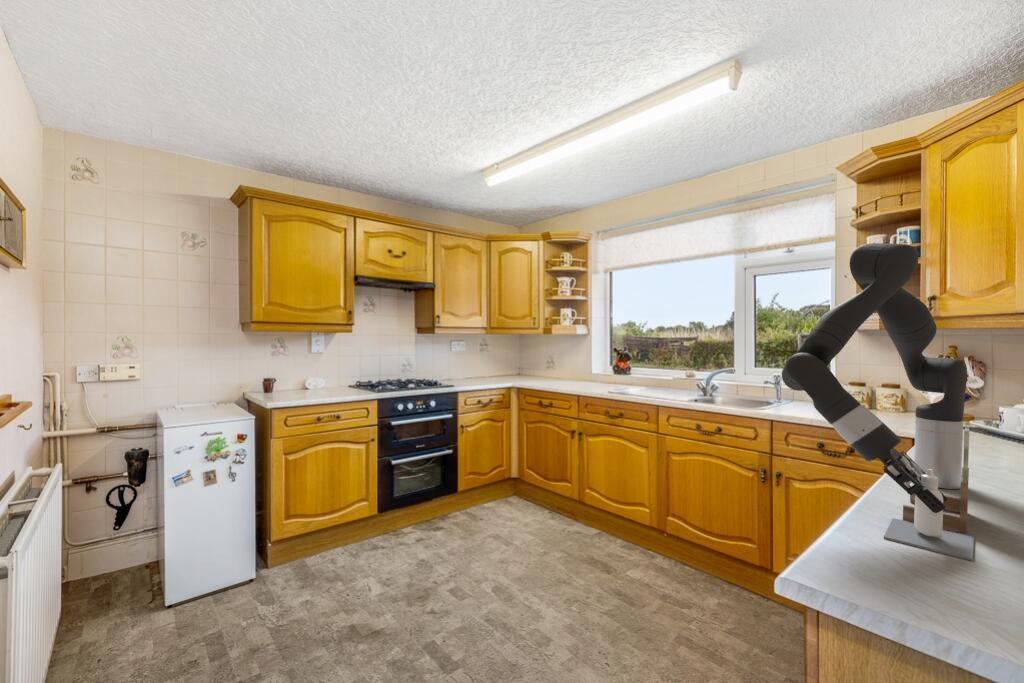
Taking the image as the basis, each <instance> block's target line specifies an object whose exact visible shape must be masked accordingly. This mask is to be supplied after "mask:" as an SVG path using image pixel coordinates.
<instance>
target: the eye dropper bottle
mask: <svg viewBox="0 0 1024 683" xmlns="http://www.w3.org/2000/svg"><path fill="white" fill-rule="evenodd" d="M921 482H922V483H923V484H924V485H925V486H927V488H928V489H929V490H930V491H931V492H932V493H933V494H934V495H935V496H936V497H937V498H938V499H939V500H940V501H941V502H942V503H943V496H942V494H941V493H940V491H941V490H940V489H939V487H938V478H937V477H936V476H934V474H933V470H932V469H927V473H926V474H924V475H921ZM939 490H940V491H939ZM914 507H915V512H914V527H915V528H916V529H917V530H918V531H919V532H921V533H923V534H925V535H927V536H932V537H942V527H943V513H944V510H942V511H940V512H938V513H934V512H932V511H931V510H930V509H929V508H928V507H927V506H926V505H925V504H924V503H923V502H922V501H921V500H920V499H919V498H918V497H917V496H915V503H914Z"/></svg>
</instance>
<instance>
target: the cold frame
mask: <svg viewBox="0 0 1024 683" xmlns="http://www.w3.org/2000/svg"><path fill="white" fill-rule="evenodd" d="M963 430H964V431H963V458H962V474H961V488H959V490H960V491H959V492H960V493H959V494H960V495H959V496H960V497H957V496H952V495H946V494H944V495H945V496H946V497H947V501H945V502H944V503H943V504H944V505H945V506H946V507H945V511H949V510H950V512H954V511H955V512H954V513H959V512H960V513H959V515H953V514H950V513H946V512H945V513H944V512H943V527H942V529H943V530H947V531H948V530H949V531H952V532H956V533H957V532H958V533H961V534H965V535H967V529H968V525H967V524H968V510H969V509H968V505H969V475H970V473H969V472H970V471H969V470H970V468H969V452H970V451H969V448H970V421H965V424H964V429H963ZM909 495H910V494H909ZM909 502H911V503H910V504H915V496H914V495H910V496H909ZM914 512H915V506H912V505H907V504H903V506H902V520H903V521H908V522H912V523H914Z"/></svg>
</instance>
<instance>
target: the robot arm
mask: <svg viewBox="0 0 1024 683" xmlns="http://www.w3.org/2000/svg"><path fill="white" fill-rule="evenodd" d="M918 264H919V254H918V251H917V249H916V248H915V247H914V246H913V245H909V244H905V243H883V242H882V243H879V242H873V243H864V244H861V245H859V246H857V247H855V249H854V250H853V251H852V253H851V255H850V257H849V270H850V273H851V277H852V279H854V281H855V283H856V284H857V285H858V287H859V288H860V289H861V291H860V292H858V293H857V294H855V295H853V296H852V297H850V298H848V299H846V300H845V301H843V302H841V303H840V304H838V305H836V306H834V307H833V308H831V309H829V311H827V312H826V313H825V314H824V315H822V317H821V318H820V319H819V321H818V322H817V323H816V324H815V326H814V327H813V328H812V329H811V331H810V332H809V334H807V337H806V338H805V340H804V341H803V344H802V345H801V347H800V348H799V349H798V350H797V352H796V353H795V354H793V355H791V356H790V357H789V358H788V359H787V360H786V363H785V364H784V366H783V368H782V371H781V379H782V381H783V384H784V385H785V386H786V387H787V388H789V389H790V390H793V391H796V392H797V391H798V392H800V391H801V392H802V391H804V392H805V394H807V395H808V397H809V398H810V399H811V400H812V404H813V407H814V408H815V410H816V411H817V412H818V413H819V414H820V415H821V416H822V418H824V419H825V420H826V421H827V422H828V423H829V424H830V425H831V426H832V428H833V429H834V430H835V431H836V432H837V433H838V435H839V436H840V437H841V438H842V439H843V440H844V441H845V442H846V443H847V444H848V445H849V446H850V447H852V449H853V450H854V451H855V452H856V453H857V454H858V455H859V456H860V457H862V459H864V461H866V462H872V461H874V460H875V459H878V460H880V462H881V463H882V464H883V465H884V466H883V468H882V469H883V473H885V474H886V475H887V476H888V477H890V478H891V479H892V480H893V481H894V482H895V483H896V484H898V485H899V487H901V488H902V489H903V490H904V491H905V492H906V493H907V494H908V495H914V496H917V497H918V498H919V499H920V500H921V501H922V502H923V503H924V504H925V505H926V506H927V507H928V508H929V509H930V510H931V511H932V512H934V513H938V512H940V511H942V510H943V511H944V509H945V507H946V506H945V505H944V504H943V503H944V502H945V501H947V497H946V496H947V495H946V494H944V493H943V492H942V491H941V490H940V488H941V489H949V490H960V488H961V475H962V467H963V444H964V431H963V430H964V411H965V399H966V387H967V381H968V380H967V379H968V370H967V365H966V364H965V362H964V361H963V360H962V359H960V358H951V357H929V356H925V355H923V352H924V350H926V348H927V347H928V346H929V345H930V344H931V343H932V341H933V340H934V338H935V336H936V334H937V330H938V328H937V324H936V322H935V320H934V317H933V315H932V312H931V311H930V308H929V307H928V306H927V305H926V304H925V303H924V302H923V301H922V300H920V299H919V298H918V297H916V296H915V295H913V294H912V293H910V292H909V291H907V290H906V289H905V288H903V287H904V286H905V285H906V284H907V283H908V281H910V280H911V278H912V276H913V275H914V274H915V272H916V270H917V267H918ZM875 312H876V313H877V315H878V317H879V318H880V320H881V323H882V326H883V327H884V329H885V331H886V333H887V335H888V336H889V338H890V340H891V341H892V343H893V344H894V345H893V346H894V347H895V348H896V351H897V352H898V355H899V356H900V359H901V362H902V364H903V368H904V371H905V373H906V376H907V379H908V381H909V383H910V385H911V386H912V387H913V389H915V390H918V391H921V392H925V393H939V394H943V398H942V399H941V400H939V401H936V402H933V403H928V404H927V403H926V404H922V405H917V406H916V407H915V418H914V419H915V420H914V422H915V425H914V429H915V430H914V458H913V459H912V458H911V457H910V456H909V455H908V453H907V452H905V451H904V450H902V451H900V452H899V451H898V449H896V448H895V447H896V446H898V445H899V444H901V442H902V439H901V437H899V435H897V434H896V433H895V432H894V431H893V430H892V429H891V428H889V426H888V425H886V424H885V423H884V421H882V420H881V419H880V418H879V417H878V416H876V414H874V413H873V412H872V411H871V410H869V409H868V408H867V407H865V406H864V405H863V404H862V403H861V402H859V401H858V399H856V397H854V396H853V395H852V394H851V393H850V392H849V391H847V390H846V389H845V388H844V387H843V386H842V384H841V383H840V381H839V379H838V378H837V377H836V376H835V375H834V374H833V372H832V370H830V368H829V367H828V366H829V365H830V363H831V361H832V360H833V359H834V358H835V357H837V355H838V354H839V353H840V352H841V351H842V350H843V348H844V347H845V346H846V345H847V343H848V342H849V341H850V339H851V338H852V337H853V335H854V334H856V331H857V330H858V329H859V328H860V327H861V326H862V325H863V324H864V323H865V322H866V321H867V320H868V319H869V318H870V317H871V316H872V315H873V314H874V313H875ZM927 469H932V470H933V474H934V476H936V477H937V478H938V490H939V491H940V493H941V494H942V496H943V503H942V502H941V501H940V500H939V499H938V498H937V497H936V496H935V495H934V494H933V493H932V492H931V491H930V490H929V489H928V488H927V486H925V485H924V484H923V483H922V482H921V475H924V474H926V473H927ZM911 483H912V484H913V485H910V484H911ZM945 495H946V496H945Z"/></svg>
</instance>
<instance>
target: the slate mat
mask: <svg viewBox="0 0 1024 683" xmlns="http://www.w3.org/2000/svg"><path fill="white" fill-rule="evenodd" d="M883 539H884V540H888V541H892V542H896V543H899V544H904V545H907V546H910V547H915V548H919V549H924V550H927V551H931V552H936V553H939V554H943V555H947V556H952V557H954V558H955V557H956V558H958V559H963V560H966V561H969V562H970V561H971V562H974V542H975V541H974V536H973V535H970V534H962V533H957V532H953V531H948V530H944V529H942V537H932V536H927V535H925V534H923V533H921V532H919V531H918V530H917V529H916V528H915V527H914V523H913V522H909V521H904V520H903V519H899V518H894V517H892V519H891V521H890V523H889V525H888V528H886V531H885V533H884V535H883Z"/></svg>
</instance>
